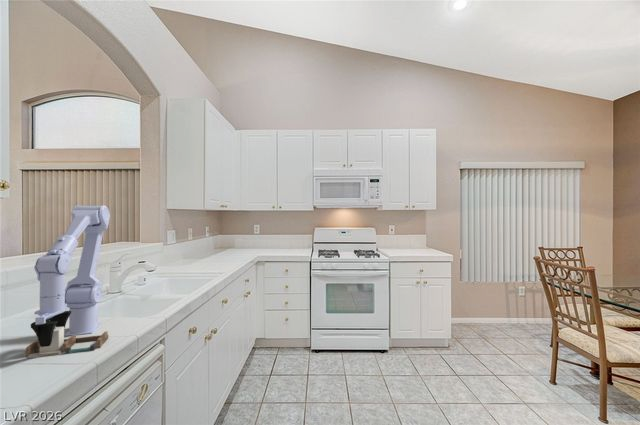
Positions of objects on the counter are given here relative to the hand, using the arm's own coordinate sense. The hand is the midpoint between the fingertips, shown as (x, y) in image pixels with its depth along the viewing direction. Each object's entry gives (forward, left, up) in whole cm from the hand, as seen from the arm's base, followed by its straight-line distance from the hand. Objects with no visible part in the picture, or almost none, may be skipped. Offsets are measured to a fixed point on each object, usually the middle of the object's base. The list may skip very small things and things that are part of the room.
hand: (52, 341), depth 92 cm
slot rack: (0, +4, -2) cm, 5 cm away
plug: (0, 0, -3) cm, 3 cm away
